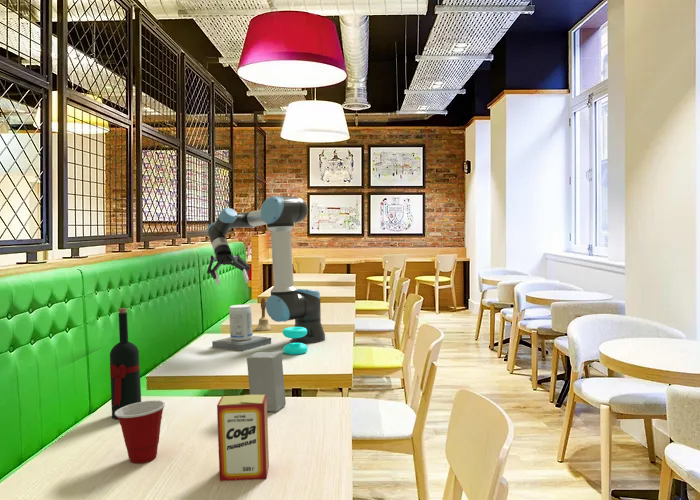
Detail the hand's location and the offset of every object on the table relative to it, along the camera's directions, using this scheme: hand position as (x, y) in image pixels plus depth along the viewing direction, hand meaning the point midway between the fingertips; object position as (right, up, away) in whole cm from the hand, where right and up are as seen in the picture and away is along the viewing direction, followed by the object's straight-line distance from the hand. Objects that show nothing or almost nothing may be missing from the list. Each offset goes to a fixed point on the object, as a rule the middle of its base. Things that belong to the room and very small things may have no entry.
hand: (233, 282), depth 272 cm
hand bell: (+9, -26, +30) cm, 41 cm away
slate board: (+6, -27, -9) cm, 29 cm away
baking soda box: (+31, -32, -147) cm, 153 cm away
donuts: (+31, -27, -27) cm, 50 cm away
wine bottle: (-9, -32, -106) cm, 111 cm away
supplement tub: (+5, -25, -9) cm, 27 cm away
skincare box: (+30, -31, -102) cm, 111 cm away
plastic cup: (+6, -33, -137) cm, 141 cm away
